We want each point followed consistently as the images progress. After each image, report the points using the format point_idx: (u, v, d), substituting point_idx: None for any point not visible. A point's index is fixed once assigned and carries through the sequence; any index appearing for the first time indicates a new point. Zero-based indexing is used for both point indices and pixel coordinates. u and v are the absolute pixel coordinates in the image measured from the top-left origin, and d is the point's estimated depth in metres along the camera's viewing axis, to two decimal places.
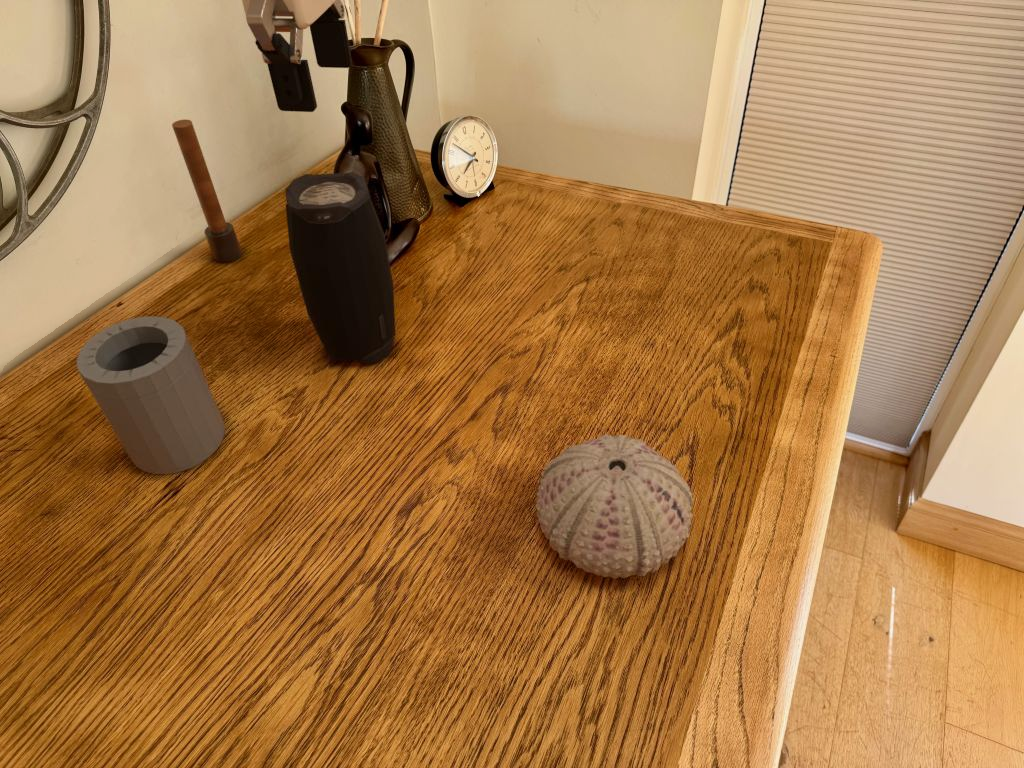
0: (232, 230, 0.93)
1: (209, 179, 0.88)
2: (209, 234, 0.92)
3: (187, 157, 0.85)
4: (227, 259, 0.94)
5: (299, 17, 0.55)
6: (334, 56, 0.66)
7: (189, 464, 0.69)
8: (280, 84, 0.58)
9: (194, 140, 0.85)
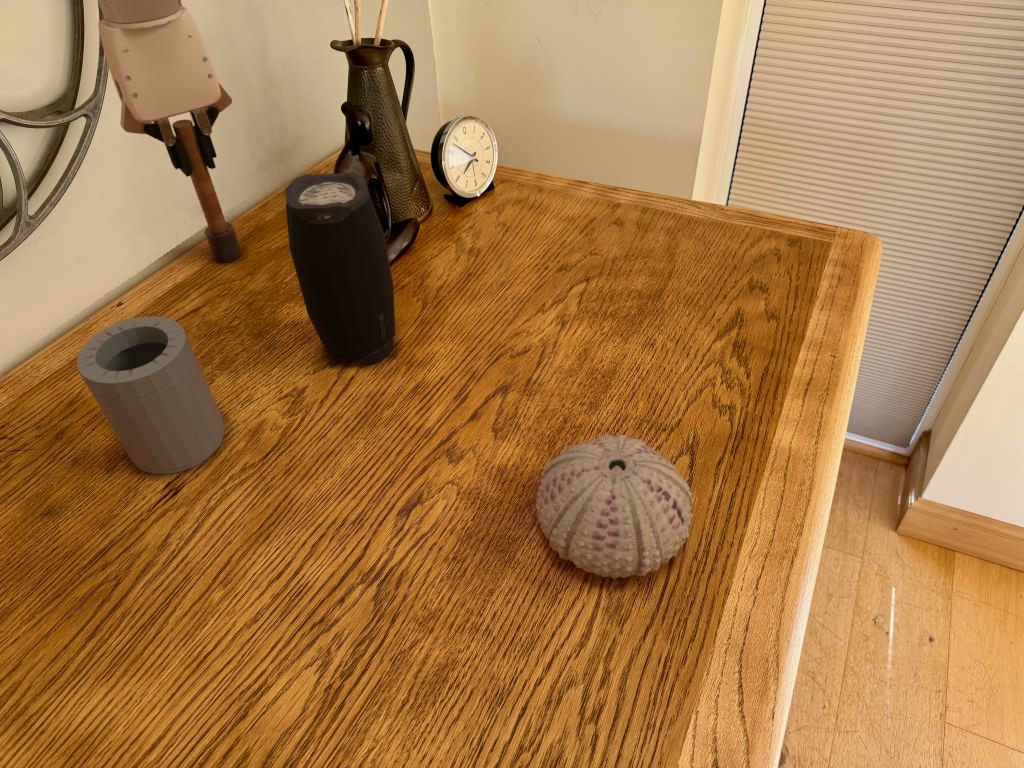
0: (232, 230, 0.93)
1: (209, 179, 0.88)
2: (209, 234, 0.92)
3: (187, 157, 0.85)
4: (227, 259, 0.94)
5: (134, 115, 0.79)
6: (204, 158, 0.87)
7: (189, 464, 0.69)
8: (168, 153, 0.85)
9: (194, 140, 0.85)
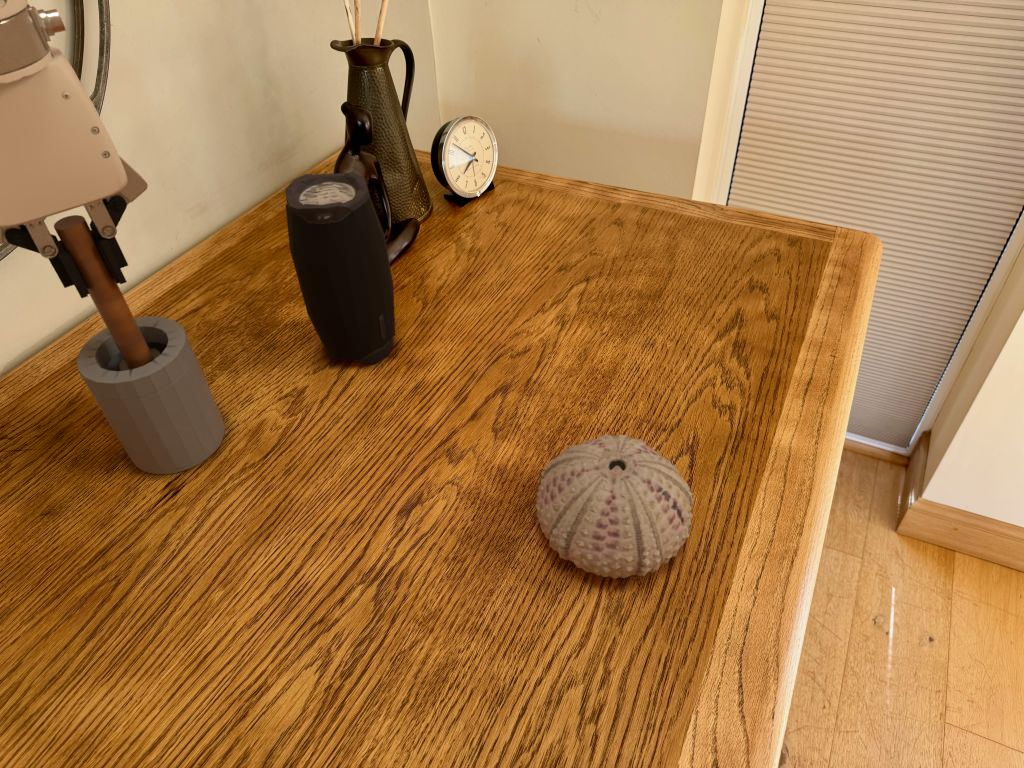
0: None
1: (119, 297, 0.60)
2: (125, 369, 0.64)
3: (81, 271, 0.57)
4: None
5: None
6: None
7: (189, 464, 0.69)
8: None
9: (90, 246, 0.56)
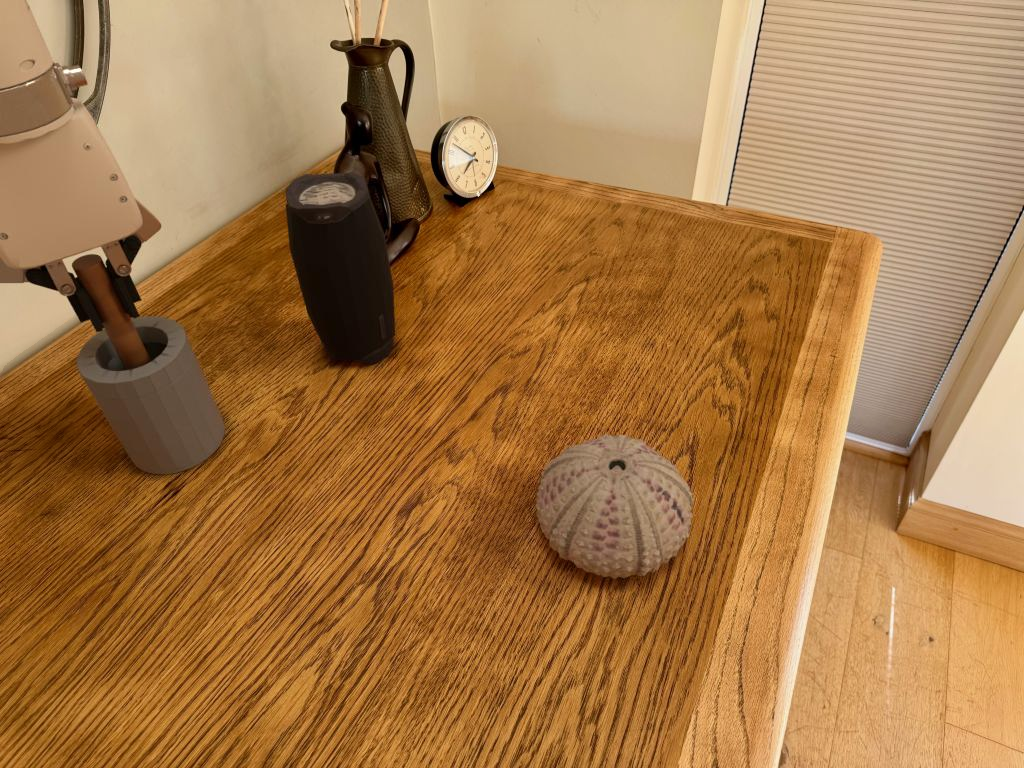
0: None
1: (132, 330, 0.62)
2: None
3: (97, 307, 0.59)
4: None
5: (7, 262, 0.53)
6: None
7: (189, 464, 0.69)
8: None
9: (106, 284, 0.59)
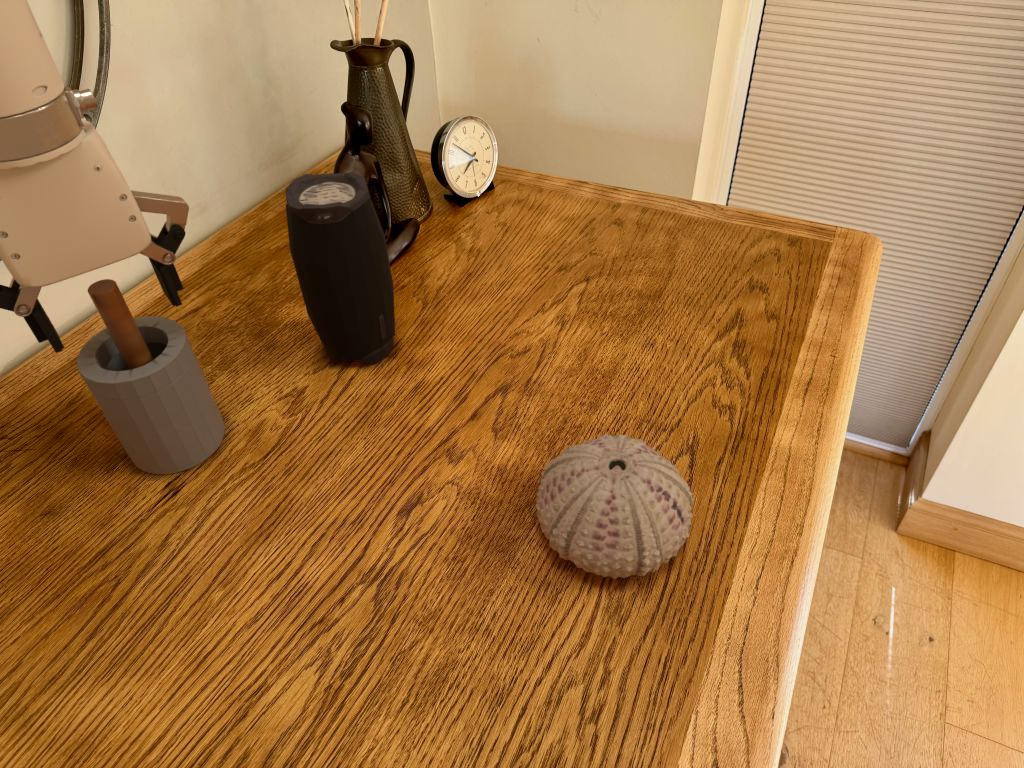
0: None
1: (145, 352, 0.64)
2: None
3: (112, 330, 0.61)
4: None
5: (19, 280, 0.54)
6: (165, 292, 0.63)
7: (189, 464, 0.69)
8: None
9: (120, 308, 0.60)
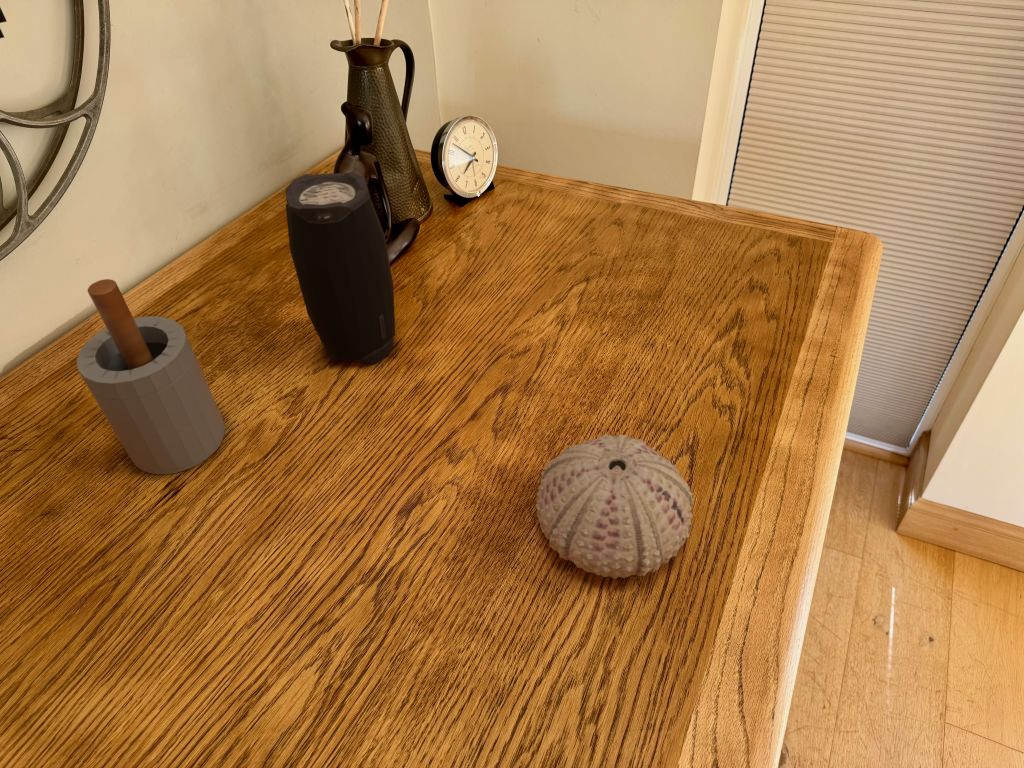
0: None
1: (145, 352, 0.64)
2: None
3: (112, 330, 0.61)
4: None
5: None
6: None
7: (189, 464, 0.69)
8: None
9: (120, 308, 0.60)
